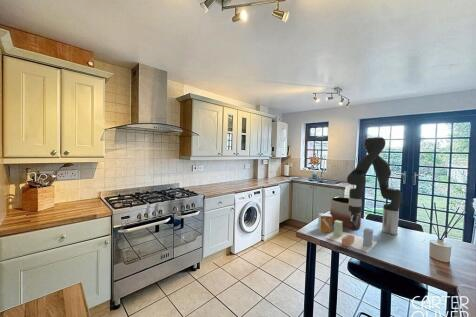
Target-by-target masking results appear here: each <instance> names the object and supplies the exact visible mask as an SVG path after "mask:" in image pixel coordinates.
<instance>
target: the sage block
mask: <svg viewBox="0 0 476 317" xmlns="http://www.w3.org/2000/svg"><path fill="white" fill-rule="evenodd" d="M342 224H343V222H342V221H338V220H336V221H334V224H333V231H334V236H337V237H341V236H342V232H343V227H342Z"/></svg>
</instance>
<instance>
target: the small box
mask: <svg viewBox="0 0 476 317" xmlns="http://www.w3.org/2000/svg"><path fill="white" fill-rule="evenodd" d="M332 218H333V216H331V215H330V213H323V212H321V213H319V212H318V220H317V223H318V224H317V229H318V232H320V233H332V232H333V224H332Z"/></svg>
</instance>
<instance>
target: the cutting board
mask: <svg viewBox="0 0 476 317" xmlns="http://www.w3.org/2000/svg"><path fill="white" fill-rule="evenodd" d="M347 234H349V235H353V236H354V243H353V244H351V245H350V246H349V247H351V248H354V249H357V250H360V251H363V252H366V253H369V252H370V251H371V250H372V249H373V248H374V247H375V246H376V244H377V243H378V241H375V240H372V246H371V247H368V246H365V245H363V237H361V236H359V235H355V234H352V233H348V232H345V231H342V236H341V237H337V236H334V230H332V232H329V234H327V235H325V236H324V239H328V240H331V241H334V242H337V243H340V244H342V238H343V237H345V236H346V235H347Z"/></svg>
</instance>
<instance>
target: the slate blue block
mask: <svg viewBox="0 0 476 317" xmlns="http://www.w3.org/2000/svg"><path fill="white" fill-rule="evenodd" d="M373 234H374V229H372V228H368V227H365V228H363V235H362V236H363V237H362V238H363V245H365V246H368V247H371V246H372V241H373V237H374V235H373Z"/></svg>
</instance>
